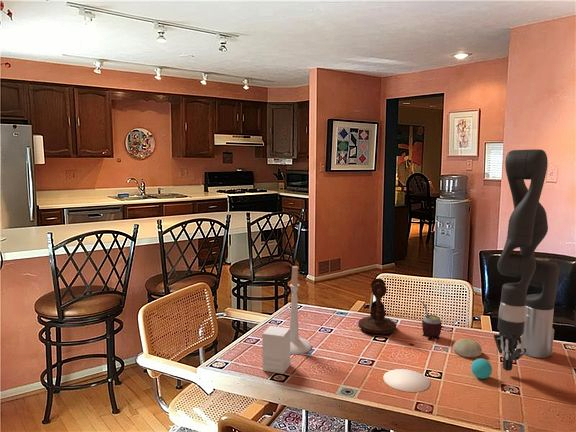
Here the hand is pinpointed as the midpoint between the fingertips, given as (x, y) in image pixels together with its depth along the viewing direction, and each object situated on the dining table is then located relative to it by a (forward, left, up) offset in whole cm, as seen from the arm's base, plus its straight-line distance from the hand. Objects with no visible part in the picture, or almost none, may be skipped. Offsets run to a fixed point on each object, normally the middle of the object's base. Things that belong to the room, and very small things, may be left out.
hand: (507, 369), depth 147 cm
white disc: (+33, -3, -2) cm, 33 cm away
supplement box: (+71, -18, -2) cm, 73 cm away
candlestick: (+62, -33, -2) cm, 70 cm away
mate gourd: (+9, -32, -2) cm, 33 cm away
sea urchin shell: (+3, -17, -2) cm, 17 cm away
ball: (+9, 0, +1) cm, 9 cm away
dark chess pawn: (+26, -43, -2) cm, 50 cm away
